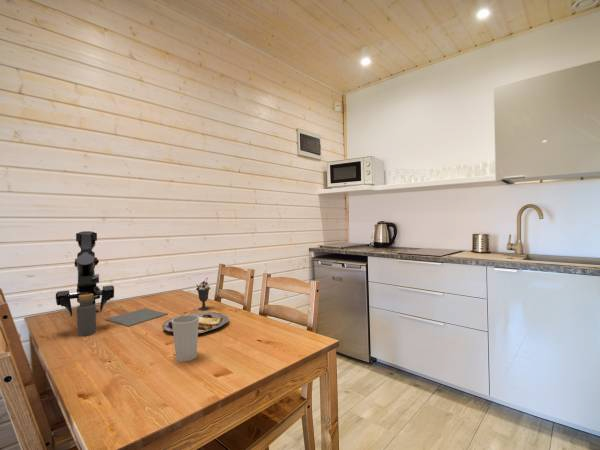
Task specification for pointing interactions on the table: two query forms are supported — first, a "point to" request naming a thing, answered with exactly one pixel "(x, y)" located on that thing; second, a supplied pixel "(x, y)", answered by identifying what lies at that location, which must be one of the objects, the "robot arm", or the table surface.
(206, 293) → the sundae
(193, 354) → the cup
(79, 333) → the bottle
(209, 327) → the food plate
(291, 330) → the table surface
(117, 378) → the table surface
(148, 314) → the mat
